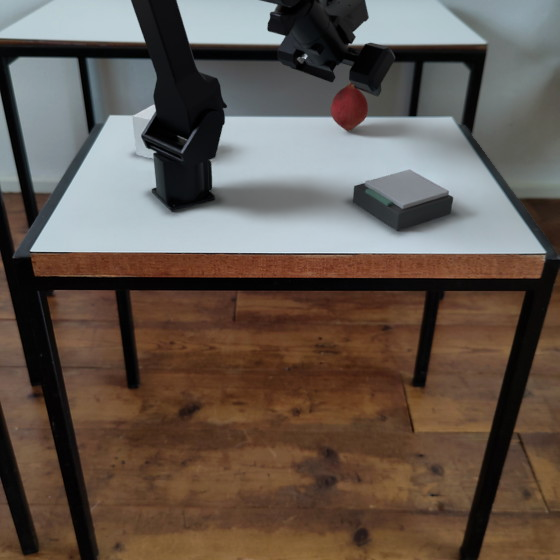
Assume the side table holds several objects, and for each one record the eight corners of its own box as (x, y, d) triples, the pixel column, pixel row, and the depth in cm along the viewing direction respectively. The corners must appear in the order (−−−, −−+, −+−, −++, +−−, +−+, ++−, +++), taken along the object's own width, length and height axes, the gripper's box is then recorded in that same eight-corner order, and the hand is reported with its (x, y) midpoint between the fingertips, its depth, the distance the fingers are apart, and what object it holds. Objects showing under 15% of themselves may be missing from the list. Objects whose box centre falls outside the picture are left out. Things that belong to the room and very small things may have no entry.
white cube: (158, 141, 107) (155, 103, 104) (192, 148, 105) (190, 109, 102) (136, 154, 103) (132, 115, 99) (170, 162, 101) (167, 122, 97)
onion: (336, 138, 109) (339, 88, 105) (324, 125, 114) (327, 77, 109) (371, 135, 110) (375, 86, 106) (358, 122, 115) (362, 74, 111)
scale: (396, 231, 85) (399, 209, 83) (352, 202, 91) (354, 181, 89) (450, 213, 89) (454, 192, 87) (404, 186, 95) (407, 166, 94)
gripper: (394, -13, 91) (430, 55, 104) (291, -33, 102) (336, 31, 114) (351, 59, 91) (393, 119, 103) (253, 32, 101) (302, 89, 114)
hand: (355, 86), depth 109 cm, fingers open, 9 cm apart
